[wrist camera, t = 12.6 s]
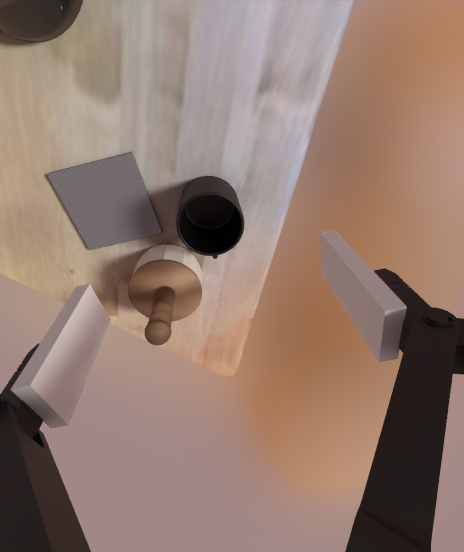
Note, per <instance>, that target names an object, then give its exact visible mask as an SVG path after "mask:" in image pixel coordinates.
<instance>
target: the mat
mask: <svg viewBox="0 0 464 552" xmlns="http://www.w3.org/2000/svg"><path fill="white" fill-rule="evenodd" d="M47 176H48V178H49V180H50V181H51V183H52V185H53V187H54V189H55V190H56V192H57V194H58V196H59V197H60V199H61V201H62V203H63V205H64V206H65V208H66V210H67V212H68V213H69V215H70V217H71V219H72V221H73V222H74V224H75V226H76V228H77V229H78V231H79V233H80V235H81V237H82V238H83V240H84V242H85V244H86V245H87V247H88V249H89V250H93V249H97V248H102V247H106V246H110V245H114V244H118V243H122V242H126V241H131V240H135V239H139V238H143V237H147V236H151V235H155V234H160V233H162V232H163V231H162V229H161V226H160V223H159V221H158V218H157V216H156V213H155V210H154V208H153V205H152V203H151V200H150V197H149V195H148V192H147V190H146V187H145V185H144V182H143V179H142V177H141V174H140V172H139V169H138V166H137V164H136V161H135V159H134V156H133V153H132V152H129V153H126V154H122V155H118V156H114V157H110V158H106V159H102V160H98V161H94V162H91V163H87V164H83V165H79V166H75V167H71V168H67V169H63V170H59V171H56V172H52V173H48V174H47Z"/></svg>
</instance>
